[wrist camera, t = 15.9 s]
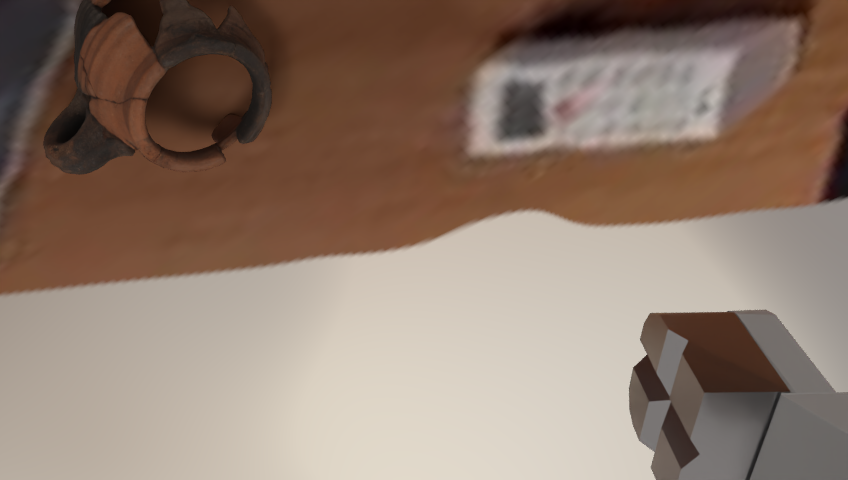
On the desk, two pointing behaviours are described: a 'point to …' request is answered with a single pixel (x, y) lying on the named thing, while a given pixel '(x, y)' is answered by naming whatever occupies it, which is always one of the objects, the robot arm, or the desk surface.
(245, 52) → the pottery mug
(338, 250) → the desk surface
